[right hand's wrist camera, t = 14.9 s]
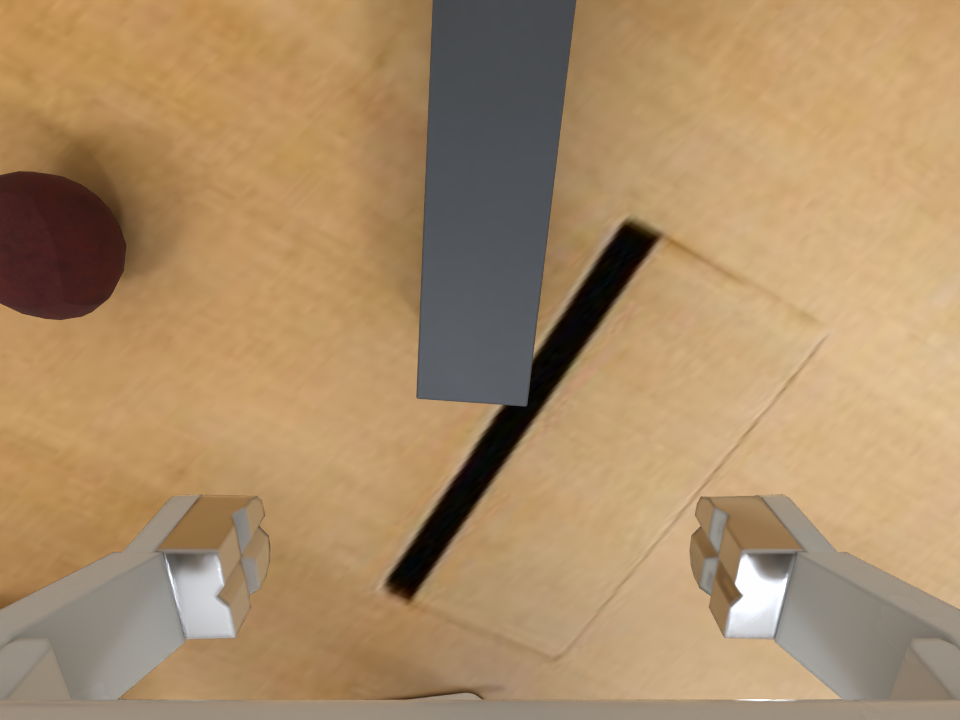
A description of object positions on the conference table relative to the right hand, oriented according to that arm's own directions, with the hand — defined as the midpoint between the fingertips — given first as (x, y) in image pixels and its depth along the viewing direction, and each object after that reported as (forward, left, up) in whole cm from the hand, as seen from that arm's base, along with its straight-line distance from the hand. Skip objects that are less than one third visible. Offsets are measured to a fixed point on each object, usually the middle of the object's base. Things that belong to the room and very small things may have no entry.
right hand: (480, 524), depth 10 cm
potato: (-23, +1, -25) cm, 34 cm away
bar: (0, +8, -25) cm, 26 cm away
